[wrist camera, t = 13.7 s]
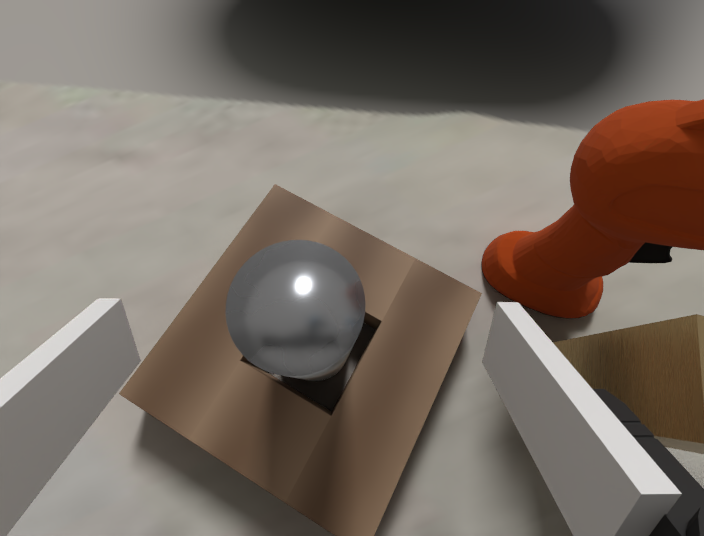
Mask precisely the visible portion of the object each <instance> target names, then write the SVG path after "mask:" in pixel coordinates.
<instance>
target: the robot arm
mask: <svg viewBox="0 0 704 536" xmlns="http://www.w3.org/2000/svg"><path fill="white" fill-rule="evenodd" d="M140 361H141V360H140V357H139V354H138V351H137V348H136V344H135V341H134V338H133V335H132V332H131V329H130V326H129V322H128V319H127V316H126V313H125V310H124V307H123V303H122V300H121V299H103V298H98V299H97V300H96V301H95V302H93V303H92V304H91V305H90V306H88V307H87V308H86V309H85V310H84V311H82V312H81V313H80V314H79V315H77V316H76V317H75V318H74V319H73V320H71V321H70V322H69V323H68V324H66V325H65V326H64V327H63V328H62V329H60V330H59V331H58V332H57V333H55V334H54V335H53V336H52V337H51V338H49V339H48V340H47V341H46V342H44V343H43V344H42V345H41V346H40V347H38V348H37V349H36V350H35V351H33V352H32V353H31V354H30V355H29V356H27V357H26V358H25V359H24V360H23V361H21V362H20V363H19V364H18V365H16V366H15V367H14V368H13V369H12V370H10V371H9V372H8V373H7V374H5V375H4V376H3V377H2V378H1V379H0V536H6V535H7V534H8V533H9V531H10V530H11V529H12V528H13V526H14V525H15V524H16V522H17V521H18V520H19V518H20V517H21V516H22V515H23V513H24V512H25V511H26V509H27V508H28V507H29V505H30V504H31V503H32V502H33V500H34V499H35V498H36V496H37V495H38V494H39V492H40V491H41V490H42V489H43V487H44V486H45V485H46V483H47V482H48V481H49V479H50V478H51V477H52V476H53V474H54V473H55V472H56V470H57V469H58V468H59V466H60V465H61V464H62V463H63V461H64V460H65V459H66V457H67V456H68V455H69V453H70V452H71V451H72V450H73V448H74V447H75V446H76V444H77V443H78V442H79V440H80V439H81V438H82V437H83V435H84V434H85V433H86V431H87V430H88V429H89V427H90V426H91V425H92V424H93V422H94V421H95V420H96V418H97V417H98V416H99V414H100V413H101V412H102V411H103V409H104V408H105V407H106V405H107V404H108V403H109V401H110V400H111V399H112V398H113V396H114V395H115V394H116V392H117V391H118V390H119V388H120V387H121V386H122V385H123V383H124V382H125V381H126V379H127V378H128V377H129V375H130V374H131V373H132V372H133V370H134V369H135V368H136V366H137V365H138V364H139V362H140ZM482 363H483V365H484V367H485V369H486V370H487V372H488V374H489V376H490V378H491V380H492V382H493V384H494V386H495V388H496V389H497V391H498V393H499V395H500V397H501V399H502V401H503V403H504V405H505V407H506V408H507V410H508V412H509V414H510V416H511V418H512V420H513V422H514V424H515V426H516V428H517V429H518V431H519V433H520V435H521V437H522V439H523V441H524V443H525V445H526V447H527V448H528V450H529V452H530V454H531V456H532V458H533V460H534V462H535V464H536V466H537V468H538V469H539V471H540V473H541V475H542V477H543V479H544V481H545V483H546V485H547V487H548V488H549V490H550V492H551V494H552V496H553V498H554V500H555V502H556V504H557V506H558V507H559V509H560V511H561V513H562V515H563V517H564V519H565V521H566V523H567V525H568V527H569V528H570V530H571V532H572V534H573V536H704V489H703V488H702V487H701V486H700V485H699V483H698V482H697V481H696V480H695V479H694V478H693V477H692V476H691V475H690V474H689V473H688V471H687V470H686V469H685V468H684V467H683V466H682V465H681V464H680V463H679V462H678V461H677V460H676V458H675V457H674V456H673V455H672V454H671V453H670V452H669V451H668V450H667V449H666V448H665V447H664V445H663V444H662V443H661V442H660V441H659V440H658V439H655V438H654V435H653V433H652V432H651V431H650V430H649V429H648V428H647V427H646V426H645V425H644V424H641V420H640V419H639V418H638V417H637V416H636V415H635V414H634V413H633V412H632V411H631V410H630V409H629V407H628V406H627V405H626V404H625V403H624V402H622V401H621V400H619V399H618V398H616V397H615V396H614V395H612V394H611V393H609V392H608V391H607V390H605V389H592V388H591V387H590V386H589V385H588V383H587V382H586V381H585V380H584V379H583V378H582V376H581V375H580V374H579V373H578V372H577V371H576V369H575V368H574V367H573V366H572V365H571V364H570V362H569V361H568V360H567V359H566V358H565V356H564V355H563V354H562V353H561V352H560V351H559V349H558V348H557V347H556V346H555V345H554V344H553V342H552V341H551V340H550V339H549V338H548V337H547V335H546V334H545V333H544V332H543V331H542V330H541V328H540V327H539V326H538V325H537V324H536V323H535V321H534V320H533V319H532V318H531V317H530V316H529V314H528V313H527V312H526V311H525V310H524V309H523V307H522V306H521V305H520V304H519V303H518V302H497V304H496V308H495V312H494V316H493V320H492V324H491V328H490V332H489V336H488V340H487V345H486V349H485V353H484V357H483V361H482Z"/></svg>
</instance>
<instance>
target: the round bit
mask: <svg viewBox="0 0 704 536" xmlns="http://www.w3.org/2000/svg"><path fill="white" fill-rule="evenodd" d="M365 304H366V303H365V294H364V289H363V286H362V283H361V280H360V278H359V276H358V274H357V272H356V270H355V269H354V268H353V266H352V265H351V264H350V263H349V261H348V260H347V259H346V258H345V257H343V256H342V255H341V254H340V253H339V252H337V251H335V250H334V249H332V248H330V247H328V246H326V245H324V244H321V243H318V242H314V241H308V240H289V241H283V242H279V243H276V244H273V245H270V246H268V247H266V248H264V249H262V250H260V251H259V252H257V253H256V254H254V255H253V256H252V257H251V258H249V259H248V260H247V261H246V262H245V263H244V264H243V266H242V267H241V268H240V269H239V271H238V272H237V274H236V275H235V277H234V279H233V281H232V283H231V285H230V288H229V291H228V294H227V300H226V311H225V314H226V323H227V327H228V331H229V333H230V336H231V338H232V340H233V342H234V344H235V346H236V347H237V349H238V350H239V351H240V352H241V354H242V355H243V356H244V357H245V358H246V359H247V360H248V361H250V362H251V363H253V364H254V365H255V366H257V367H259V368H261V369H263V370H265V371H267V372H270V373H273V374H277V375H282V376H288V377H293V378H298V379H304V380H309V381H322V380H326V379H328V378H330V377H332V376H334V375H335V374H337V373H338V372H339V371H340V370H341V368H342V367H343V366H344V364H345V362H346V360H347V358H348V356H349V354H350V352H351V350H352V348H353V346H354V343H355V341H356V339H357V337H358V335H359V333H360V331H361V328H362V325H363V322H364V316H365Z"/></svg>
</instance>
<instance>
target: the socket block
mask: <svg viewBox="0 0 704 536" xmlns="http://www.w3.org/2000/svg"><path fill="white" fill-rule="evenodd" d="M289 240H308V241H314V242H318V243H321V244H324V245H326V246H328V247H330V248H332V249H334V250H335V251H337V252H339V253H340V254H341V255H342V256H343V257H345V258H346V259H347V260H348V261H349V263H350V264H351V265H352V266H353V268H354V269H355V270H356V272H357V274H358V276H359V278H360V280H361V283H362V286H363V289H364V294H365V303H366V304H365V316H364V323H365V324H367V325H369V326H371V327H373V328H374V329H376V330H375V332H374V334H373V336H372V338H371V339H370V341H369V343H368V345H367V347H366V349H365V351H364V353H363V354H362V356H361V358H360V360H359V362H358V364H357V366H356V368H355V369H354V371H353V373H352V375H351V377H350V379H349V381H348V382H347V384H346V386H345V388H344V390H343V392H342V394H341V396H340V397H339V399H338V401H337V403H336V405H335V407H334V409H333V410H332V411H330V410H328V409H327V408H325V407H323V406H322V405H320V404H319V403H317V402H315V401H314V400H312V399H310V398H309V397H307V396H305V395H304V394H302V393H300V392H299V391H297V390H295V389H294V388H292V387H291V386H289V385H287V384H286V383H284V382H282V381H281V380H279V379H277V378H276V377H274V376H272V375H271V374H269V373H267V372H266V371H264V370H263V369H261V368H259V367H257V366H255V365H254V364H253V363H251V362H250V361H248V360H247V359H246V358H245V357H244V356H243V355H242V354H241V352H240V351H239V350H238V349H237V347H236V346H235V344H234V342H233V340H232V338H231V336H230V333H229V331H228V327H227V323H226V314H225V311H226V300H227V294H228V291H229V288H230V285H231V283H232V281H233V279H234V277H235V275H236V274H237V272H238V271H239V269H240V268H241V267H242V266H243V264H244V263H245V262H246V261H247V260H248V259H249V258H251V257H252V256H253V255H254V254H256V253H257V252H259V251H260V250H262V249H264V248H266V247H268V246H270V245H273V244H276V243H279V242H283V241H289ZM481 294H482V293H480V292H478V291H476V290H474V289H472V288H470V287H469V286H467V285H465V284H463V283H461V282H459V281H457V280H455V279H453V278H452V277H450V276H448V275H446V274H444V273H442V272H440V271H438V270H436V269H435V268H433V267H431V266H429V265H427V264H425V263H423V262H421V261H419V260H417V259H416V258H414V257H412V256H410V255H408V254H406V253H404V252H402V251H400V250H399V249H397V248H395V247H393V246H391V245H389V244H387V243H385V242H383V241H382V240H380V239H378V238H376V237H374V236H372V235H370V234H368V233H366V232H365V231H363V230H361V229H359V228H357V227H355V226H353V225H351V224H349V223H348V222H346V221H344V220H342V219H340V218H338V217H336V216H334V215H332V214H330V213H329V212H327V211H325V210H323V209H321V208H319V207H317V206H315V205H313V204H312V203H310V202H308V201H306V200H304V199H302V198H300V197H298V196H296V195H295V194H293V193H291V192H289V191H287V190H285V189H283V188H281V187H279V186H278V185H276V184H275V185H274V186H273V188H272V189H271V190H270V192H269V193H268V194H267V196H266V197H265V198H264V200H263V201H262V202H261V204H260V205H259V206H258V208H257V209H256V210H255V212H254V213H253V214H252V216H251V217H250V218H249V220H248V221H247V222H246V224H245V225H244V227H243V228H242V229H241V231H240V232H239V233H238V235H237V236H236V237H235V239H234V240H233V241H232V243H231V244H230V245H229V247H228V248H227V249H226V251H225V252H224V253H223V255H222V256H221V257H220V259H219V260H218V261H217V263H216V264H215V265H214V267H213V268H212V270H211V271H210V272H209V274H208V275H207V276H206V278H205V279H204V280H203V282H202V283H201V284H200V286H199V287H198V288H197V290H196V291H195V292H194V294H193V295H192V296H191V298H190V299H189V300H188V302H187V303H186V304H185V306H184V307H183V308H182V310H181V311H180V312H179V314H178V315H177V317H176V318H175V319H174V321H173V322H172V323H171V325H170V326H169V327H168V329H167V330H166V331H165V333H164V334H163V335H162V337H161V338H160V339H159V341H158V342H157V343H156V345H155V346H154V347H153V349H152V350H151V351H150V353H149V354H148V355H147V357H146V358H145V360H144V361H143V362H142V364H141V365H140V366H139V368H138V369H137V370H136V372H135V373H134V374H133V376H132V377H131V378H130V380H129V381H128V382H127V384H126V385H125V386H124V388H123V389H122V390H121V392H120V393H119V394H120V395H121V396H123V397H124V398H126V399H127V400H129V401H131V402H132V403H134V404H135V405H137V406H138V407H140V408H141V409H143V410H144V411H146V412H147V413H149V414H150V415H152V416H153V417H155V418H156V419H158V420H160V421H161V422H163V423H164V424H166V425H167V426H169V427H170V428H172V429H173V430H175V431H176V432H178V433H179V434H181V435H182V436H184V437H185V438H187V439H188V440H190V441H192V442H193V443H195V444H196V445H198V446H199V447H201V448H202V449H204V450H205V451H207V452H208V453H210V454H211V455H213V456H214V457H216V458H217V459H219V460H221V461H222V462H224V463H225V464H227V465H228V466H230V467H231V468H233V469H234V470H236V471H237V472H239V473H240V474H242V475H243V476H245V477H246V478H248V479H249V480H251V481H253V482H254V483H256V484H257V485H259V486H260V487H262V488H263V489H265V490H266V491H268V492H269V493H271V494H272V495H274V496H275V497H277V498H278V499H280V500H282V501H283V502H285V503H286V504H288V505H289V506H291V507H292V508H294V509H295V510H297V511H298V512H300V513H301V514H303V515H304V516H306V517H307V518H309V519H310V520H312V521H314V522H315V523H317V524H318V525H320V526H321V527H323V528H324V529H326V530H327V531H329V532H330V533H332V534H333V535H335V536H374V535H375V532H376V530H377V528H378V526H379V523H380V521H381V519H382V517H383V514H384V512H385V510H386V508H387V505H388V503H389V501H390V499H391V496H392V494H393V492H394V490H395V487H396V485H397V483H398V481H399V478H400V476H401V474H402V472H403V469H404V467H405V465H406V463H407V460H408V458H409V456H410V454H411V451H412V449H413V447H414V445H415V442H416V440H417V438H418V436H419V433H420V431H421V429H422V427H423V424H424V422H425V420H426V418H427V415H428V413H429V411H430V409H431V406H432V404H433V402H434V400H435V398H436V395H437V393H438V391H439V389H440V386H441V384H442V382H443V380H444V377H445V375H446V373H447V371H448V368H449V366H450V364H451V362H452V359H453V357H454V355H455V353H456V350H457V348H458V346H459V344H460V341H461V339H462V337H463V335H464V332H465V330H466V328H467V326H468V323H469V321H470V319H471V317H472V314H473V312H474V310H475V308H476V305H477V303H478V301H479V299H480V296H481Z"/></svg>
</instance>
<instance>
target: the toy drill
mask: <svg viewBox="0 0 704 536" xmlns="http://www.w3.org/2000/svg"><path fill="white" fill-rule="evenodd" d="M570 186H571V192H572V197H573V201H574V205H573V206H572V207H571V208H570V209H569V210H568V211H567V212H566V213H565V214H564V215H563V216H562V217H561V218H560V219H559V220H557V221H556V222H554V223H553V224H551V225H549V226H547V227H546V228H544V229H543V230H541V231H538V232H528V231H513V232H509V233H506V234H503V235H500V236H499V237H497V238H496V239H494V240H493V241H492V242H491V243H490V244H489V246H488V247H487V248H486V250H485V252H484V254H483V258H482V271H483V273H484V276H485V278H486V279H487V281H488V282H489V284H490V285H491V286H492V287H494V288H495V289H496V290H497V291H498V292H500V293H501V294H503V295H505V296H506V297H508V298H510V299H512V300H514V301H515V302H518V303H519V304H521V305H524V306H526V307H529V308H531V309H533V310H536V311H539V312H542V313H545V314H548V315H552V316H556V317H563V318H579V317H582V316H586V315H588V314H590V313H592V312H593V311H594V310H595V309H596V308H597V306H598V304H599V302H600V299H601V296H602V292H603V279H602V276H605V275H609V274H610V273H612V272H614V271H615V270H616V269H618V268H620V267H622V266H624V265H626V264H627V263H628V262H631V263H667V262H671V261H672V257H671V256H670V249H671V248H672V247H679V248H688V249H697V250H704V100H700V101H684V100H663V101H651V102H650V101H649V102H645V103H640V104H636V105H631V106H627V107H624V108H622V109H619V110H617V111H615V112H614V113H612V114H610V115H609V116H607V117H606V118H604V119H603V120H601V121H600V122H599V123H598V124H596V125H595V126H594V127H593V128H592V129H591V130H590V132H589V133H588V134H587V135H586V137H585V138H584V139H583V140H582V142H581V143H580V145H579V147H578V149H577V151H576V153H575V155H574V159H573V163H572V166H571V173H570Z"/></svg>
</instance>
